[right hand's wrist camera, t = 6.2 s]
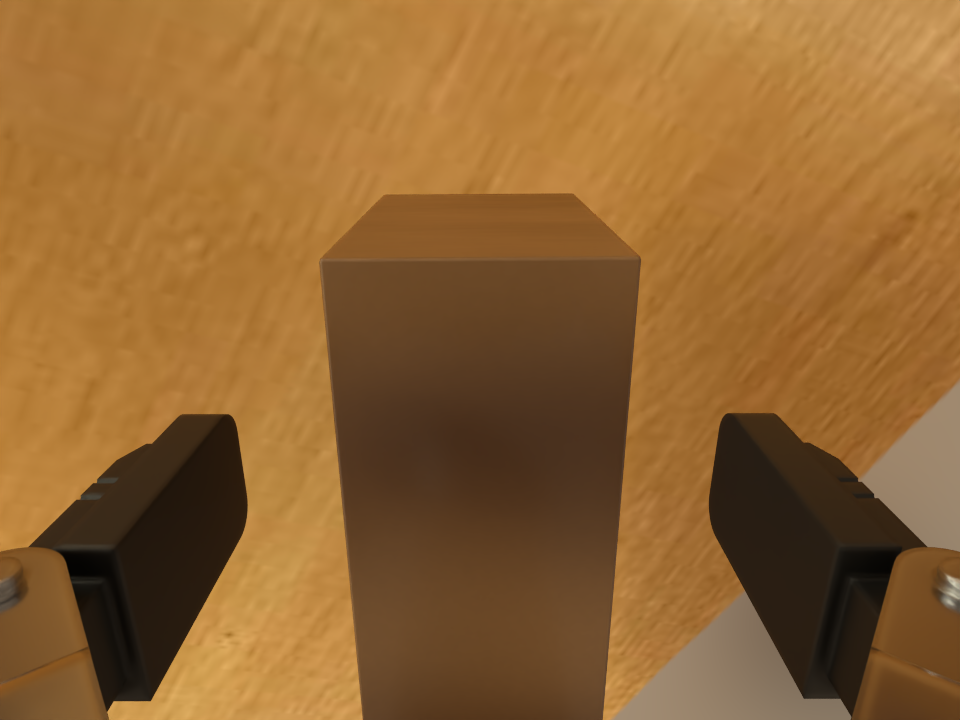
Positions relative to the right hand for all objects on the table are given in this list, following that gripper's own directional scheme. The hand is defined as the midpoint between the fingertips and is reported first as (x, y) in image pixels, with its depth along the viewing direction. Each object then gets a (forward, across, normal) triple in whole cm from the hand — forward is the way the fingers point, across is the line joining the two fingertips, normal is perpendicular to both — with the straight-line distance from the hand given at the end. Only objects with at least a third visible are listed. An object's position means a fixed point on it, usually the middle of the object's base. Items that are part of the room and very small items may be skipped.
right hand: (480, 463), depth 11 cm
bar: (+10, 0, -10) cm, 14 cm away
